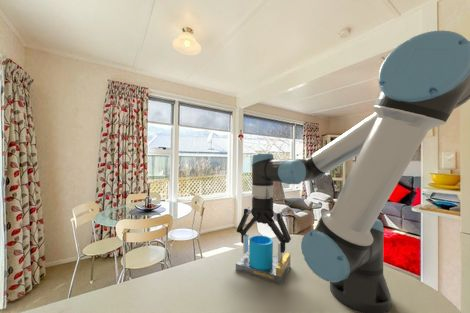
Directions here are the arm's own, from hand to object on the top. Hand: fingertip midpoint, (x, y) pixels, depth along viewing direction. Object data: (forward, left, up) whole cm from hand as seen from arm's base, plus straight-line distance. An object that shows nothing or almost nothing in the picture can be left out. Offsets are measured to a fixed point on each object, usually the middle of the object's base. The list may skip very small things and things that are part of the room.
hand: (262, 256), depth 73 cm
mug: (+1, 0, -2) cm, 2 cm away
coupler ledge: (0, 0, -4) cm, 4 cm away
